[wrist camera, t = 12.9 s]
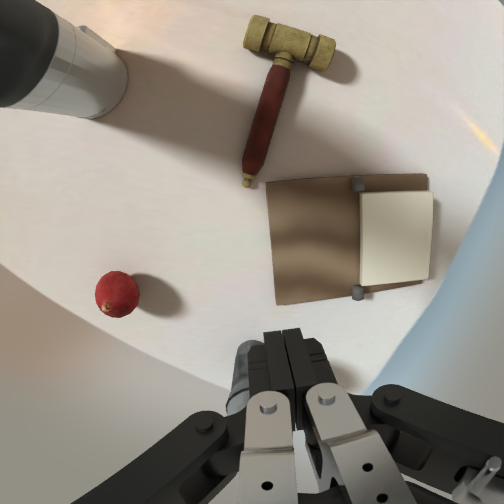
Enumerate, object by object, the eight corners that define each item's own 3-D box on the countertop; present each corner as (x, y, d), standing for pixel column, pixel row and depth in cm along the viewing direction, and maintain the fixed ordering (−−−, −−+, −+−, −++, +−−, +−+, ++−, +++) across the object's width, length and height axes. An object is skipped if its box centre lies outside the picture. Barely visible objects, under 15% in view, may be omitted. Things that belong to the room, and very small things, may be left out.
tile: (433, 191, 34) (428, 190, 36) (362, 194, 35) (359, 192, 36) (427, 278, 38) (424, 275, 39) (361, 286, 39) (359, 281, 40)
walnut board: (265, 182, 37) (267, 184, 34) (423, 173, 37) (434, 175, 35) (275, 302, 42) (278, 312, 39) (418, 280, 42) (427, 288, 40)
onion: (153, 282, 40) (136, 310, 33) (131, 309, 41) (113, 339, 34) (120, 254, 39) (97, 277, 31) (100, 283, 40) (76, 309, 32)
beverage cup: (219, 361, 45) (213, 472, 26) (240, 324, 43) (243, 438, 24) (262, 376, 46) (275, 484, 27) (285, 342, 44) (312, 452, 25)
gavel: (288, 202, 35) (201, 179, 34) (283, 195, 39) (206, 174, 38) (339, 35, 28) (253, 9, 26) (329, 45, 32) (252, 21, 31)
